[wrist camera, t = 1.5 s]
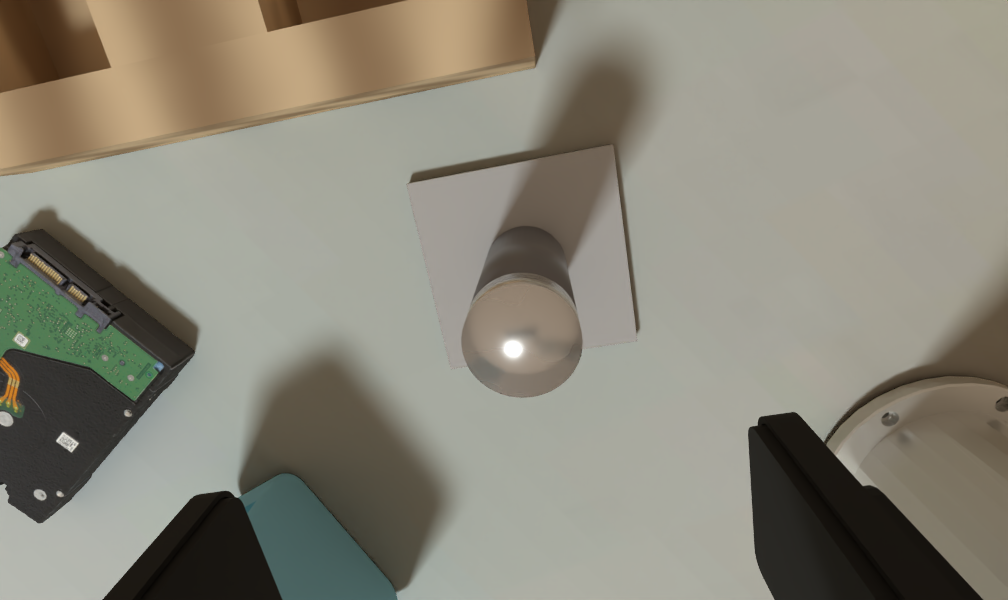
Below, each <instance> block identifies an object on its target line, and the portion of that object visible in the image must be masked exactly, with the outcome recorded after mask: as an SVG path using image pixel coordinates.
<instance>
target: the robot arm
mask: <svg viewBox="0 0 1008 600" xmlns="http://www.w3.org/2000/svg"><path fill="white" fill-rule="evenodd" d="M748 439H749V457H750V474H751V492H752V509H753V527H754V545H755V554H756V559H757V563H758V566H759V569H760V571H761V574H762V576H763V578H764V580H765V582H766V584H767V586H768V588H769V590H770V591H771V593H772V595H773V597H774V599H775V600H1008V387H1007V386H1005V385H1002V384H1000V383H998V382H995V381H991V380H986V379H981V378H976V377H964V376H945V377H938V378H931V379H924V380H920V381H917V382H913V383H910V384H907V385H903V386H900V387H898V388H896V389H893V390H891V391H889V392H887V393H885V394H883V395H881V396H878V397H877V398H875V399H874V400H872V401H871V402H869V403H868V404H866V405H865V406H863V407H861V408H860V409H858V410H857V411H856V412H855V413H854V414H853V415H852V416H851V417H849V418H848V419H847V420H846V421H845V422H844V423H843V424H842V425H841V426H840V427H839V428H838V430H837V431H836V432H835V433H834V435H833V436H832V437H831V439H830V440H829V441H828V442H827V444H826V445H825V443H824V442H823V441H822V440H821V439H820V438H819V437H818V436H817V435H816V433H815V432H814V431H813V430H812V429H811V428H810V427H809V426H808V424H807V423H806V422H805V421H804V420H803V419H802V418H801V417H800V416H799V415H798V414H797V413H795V412H791V413H784V414H777V415H769V416H762V417H760V418H759V420H758V426H753V427H750V428H749V431H748ZM103 600H282V597H281V595H280V592H279V590H278V587H277V585H276V583H275V580H274V578H273V575H272V573H271V570H270V568H269V565H268V563H267V560H266V558H265V556H264V553H263V551H262V548H261V546H260V543H259V541H258V538H257V536H256V534H255V531H254V529H253V526H252V524H251V521H250V519H249V516H248V514H247V512H246V509H245V507H244V504H243V502H242V501H241V500H240V499H239V498H236V497H234V495H233V494H232V493H231V492H229V491H220V492H213V493H206V494H199V495H196V496H194V497H193V498H192V499H190V500H189V502H188V503H187V504H186V505H185V506H184V507H183V508H182V509H181V511H180V512H179V513H178V514H177V515H176V516H175V517H174V519H173V520H172V521H171V522H170V523H169V524H168V525H167V527H166V528H165V529H164V530H163V531H162V532H161V533H160V535H159V536H158V537H157V538H156V539H155V540H154V541H153V543H152V544H151V545H150V546H149V547H148V548H147V549H146V551H145V552H144V553H143V554H142V555H141V556H140V557H139V559H138V560H137V561H136V562H135V563H134V564H133V565H132V567H131V568H130V569H129V570H128V571H127V572H126V573H125V575H124V576H123V577H122V578H121V579H120V580H119V581H118V583H117V584H116V585H115V586H114V587H113V588H112V589H111V591H110V592H109V593H108V594H107V595H106V596H105V597H104V599H103Z"/></svg>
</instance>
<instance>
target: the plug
mask: <svg viewBox="0 0 1008 600" xmlns="http://www.w3.org/2000/svg"><path fill="white" fill-rule="evenodd" d="M582 345H583V339H582V331H581V327H580V322H579V318H578V313H577V309H576V304H575V299H574V295H573V290H572V286H571V281H570V277H569V272H568V268H567V263H566V259H565V254H564V251H563V249H562V247H561V245H560V244H559V242H558V241H557V240H556V239H555V238H554V237H553V236H552V235H551V234H550V233H548V232H547V231H545V230H543V229H540V228H537V227H532V226H519V227H515V228H512V229H509V230H507V231H506V232H504V233H503V234H501V235H500V236H499V237H498V238H497V239H496V240H495V241H494V242H493V244H492V246H491V247H490V249H489V252H488V255H487V258H486V261H485V263H484V266H483V269H482V272H481V275H480V278H479V281H478V284H477V287H476V290H475V293H474V296H473V299H472V302H471V305H470V308H469V311H468V314H467V317H466V319H465V322H464V326H463V329H462V336H461V346H462V352H463V356H464V359H465V361H466V363H467V366H468V367H469V369H470V371H471V372H472V373H473V375H474V376H475V377H476V378H477V379H478V380H479V381H480V382H481V383H482V384H484V385H485V386H487V387H488V388H490V389H492V390H493V391H495V392H498V393H500V394H503V395H507V396H512V397H534V396H539V395H542V394H545V393H548V392H550V391H552V390H554V389H555V388H557V387H559V386H560V385H561V384H562V383H564V382H565V381H566V380H567V379H568V378H569V377H570V376H571V374H572V373H573V372H574V370H575V368H576V366H577V365H578V363H579V360H580V357H581V353H582Z"/></svg>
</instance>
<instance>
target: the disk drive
mask: <svg viewBox="0 0 1008 600" xmlns="http://www.w3.org/2000/svg"><path fill="white" fill-rule="evenodd" d="M194 354H195V352H194V350H193V349H192V348H190V347H189V346H188V345H186V344H185V343H184V342H183V341H181V340H180V339H179V338H177V337H176V336H175V335H173V334H172V333H171V332H170V331H169V330H168V329H166V328H165V327H164V326H163V325H161V324H160V323H159V322H158V321H156V320H155V319H154V318H153V317H151V316H150V315H149V314H148V313H147V312H145V311H144V310H143V309H142V308H140V307H139V306H138V305H137V304H135V303H134V302H133V301H132V300H130V299H129V298H127V297H126V296H124V295H123V294H122V293H121V292H120V291H118V290H117V289H116V288H115V287H113V286H112V284H110V283H109V282H108V281H107V280H105V279H104V278H103V277H102V276H100V275H99V274H98V273H97V272H95V271H94V270H93V269H92V268H90V267H89V266H88V265H87V264H85V263H84V262H83V261H82V260H80V259H79V258H78V257H77V256H75V255H74V254H73V253H72V252H70V251H69V250H68V249H67V248H65V247H64V246H63V245H62V244H60V243H59V242H58V241H57V240H55V239H54V238H53V237H52V236H50V235H49V234H48V233H47V232H45V231H44V230H43V229H40V230H34V231H29V232H23V233H19V234H15V235H14V236H13V237H12V239H11V240H10V242H9V243H8V245H6V246H4V247H3V248H0V485H2V484H6V485H7V487H6V488H5V490H6V491H7V494H8V495H9V499H8V503H9V504H11V505H12V506H14V507H16V508H17V509H18V510H20V511H21V512H23V513H25V514H26V515H27V516H28V517H30V518H32V519H33V520H34V521H36V522H37V523H43V522H44V521H45V520H47V519H48V518H49V517H50V516H52V515H53V514H54V513H55V512H57V511H58V510H59V509H60V508H61V507H63V506H64V505H65V504H66V503H67V502H69V501H70V500H71V499H72V497H73V496H74V495H75V494H76V493H77V492H78V491H79V490H80V489H81V488H82V487H83V486H84V485H85V484H86V483H87V482H88V480H89V479H90V478H91V476H92V473H94V472H95V470H96V469H97V468H98V467H99V466H100V464H101V463H102V462H103V461H104V460H105V459H106V457H107V456H108V455H109V454H110V453H111V451H112V450H113V449H114V448H115V447H116V446H117V444H118V443H119V442H120V441H121V440H122V438H123V437H124V436H125V435H126V434H127V432H128V431H129V430H130V429H131V428H132V427H133V426H134V424H136V422H137V421H138V419H139V418H140V417H141V416H142V415H143V414H144V413H145V411H146V410H147V409H148V408H149V407H150V406H151V404H152V403H153V402H154V401H155V400H156V399H157V397H158V396H159V395H160V394H161V393H162V392H163V391H164V390H165V389H166V388H168V386H169V385H170V384H171V383H172V382H173V381H174V380H175V378H176V377H177V376H178V373H179V372H180V371H181V370H182V369H183V367H184V366H185V365H186V364H187V363H188V362H189V361H190V359H191V358H192V357H193V356H194Z"/></svg>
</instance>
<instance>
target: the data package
mask: <svg viewBox="0 0 1008 600" xmlns="http://www.w3.org/2000/svg"><path fill="white" fill-rule="evenodd" d="M239 499H240V500H241V501H242V502H243V504H244V507H245V509H246V512H247V514H248V516H249V519H250V521H251V524H252V526H253V529H254V531H255V534H256V536H257V538H258V541H259V543H260V546H261V548H262V551H263V553H264V556H265V558H266V560H267V563H268V565H269V568H270V570H271V573H272V575H273V578H274V580H275V583H276V585H277V587H278V590H279V592H280V595H281V597H282V600H397V596H396V593H395V590H394V588H393V586H392V584H391V583H390V581H389V580H388V579H387V578H386V577H385V575H384V574H383V573H382V572H381V571H380V570H379V568H378V567H377V566H376V565H375V564H374V563H373V562H372V560H371V559H370V558H369V557H368V556H367V555H366V554H365V552H364V551H363V550H362V549H361V548H360V547H359V545H358V544H357V543H356V542H355V541H354V540H353V539H352V537H351V536H350V535H349V534H348V533H347V532H346V530H345V529H344V528H343V527H342V526H341V525H340V524H339V522H338V521H337V520H336V519H335V518H334V517H333V516H332V514H331V513H330V512H329V511H328V510H327V509H326V507H325V506H324V505H323V504H322V503H321V502H320V501H319V499H318V498H317V497H316V496H315V495H314V494H313V492H312V491H311V490H310V489H309V488H308V487H307V486H306V484H305V483H304V482H303V481H302V480H301V479H300V478H298V477H297V476H295V475H292V474H288V473H283V474H279V475H277V476H275V477H273V478H272V479H270V480H268V481H266V482H265V483H263V484H261V485H260V486H258V487H256V488H254V489H253V490H251V491H249V492H247V493H246V494H244V495H242V496H240V497H239Z"/></svg>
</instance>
